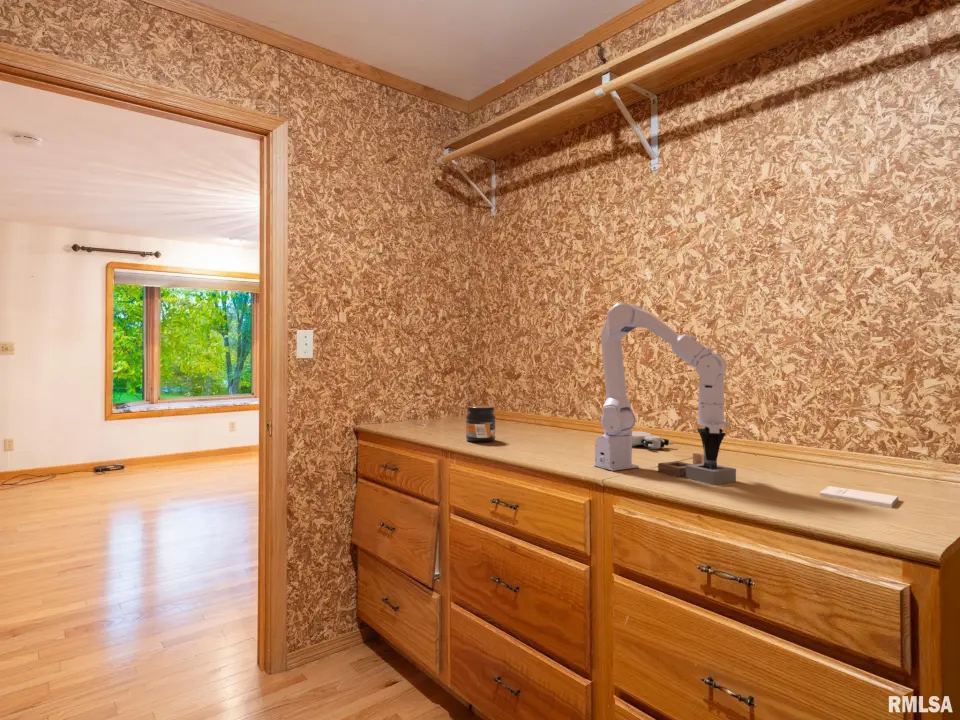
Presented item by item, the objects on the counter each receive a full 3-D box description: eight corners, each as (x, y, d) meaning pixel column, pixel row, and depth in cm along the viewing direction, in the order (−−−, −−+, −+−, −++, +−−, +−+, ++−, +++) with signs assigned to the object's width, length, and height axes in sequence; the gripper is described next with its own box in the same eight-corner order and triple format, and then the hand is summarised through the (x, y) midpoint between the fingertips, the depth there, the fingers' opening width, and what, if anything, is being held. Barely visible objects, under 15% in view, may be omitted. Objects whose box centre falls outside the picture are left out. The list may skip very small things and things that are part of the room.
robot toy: (675, 451, 173) (639, 441, 186) (676, 438, 173) (640, 429, 185) (650, 455, 166) (614, 444, 179) (651, 441, 166) (615, 431, 179)
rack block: (713, 484, 124) (713, 471, 124) (685, 477, 131) (685, 465, 131) (735, 481, 128) (735, 468, 128) (707, 474, 135) (707, 462, 135)
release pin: (688, 472, 136) (688, 456, 136) (679, 470, 139) (679, 454, 139) (705, 469, 139) (705, 454, 139) (696, 467, 142) (696, 452, 142)
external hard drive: (891, 511, 106) (819, 498, 115) (898, 503, 112) (829, 492, 121) (891, 503, 106) (819, 491, 115) (898, 495, 112) (829, 484, 121)
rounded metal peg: (710, 472, 128) (710, 439, 128) (700, 470, 130) (701, 437, 130) (719, 471, 129) (720, 438, 129) (709, 469, 132) (710, 437, 132)
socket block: (679, 477, 132) (679, 468, 132) (658, 471, 138) (658, 463, 138) (699, 474, 135) (699, 465, 135) (677, 469, 141) (677, 460, 141)
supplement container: (481, 444, 179) (481, 408, 179) (459, 440, 187) (459, 406, 187) (501, 440, 187) (502, 406, 187) (480, 437, 194) (480, 404, 194)
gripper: (733, 406, 121) (733, 465, 122) (724, 401, 135) (724, 454, 135) (700, 405, 124) (700, 463, 124) (695, 400, 137) (694, 453, 137)
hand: (710, 459), depth 130 cm, fingers closed on rounded metal peg, 3 cm apart
